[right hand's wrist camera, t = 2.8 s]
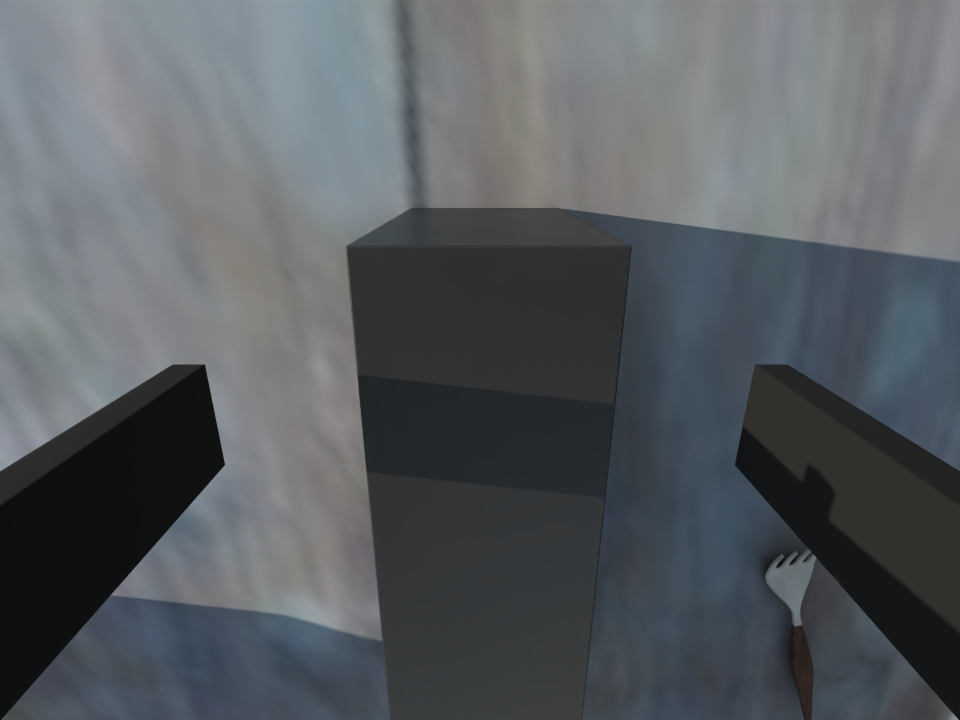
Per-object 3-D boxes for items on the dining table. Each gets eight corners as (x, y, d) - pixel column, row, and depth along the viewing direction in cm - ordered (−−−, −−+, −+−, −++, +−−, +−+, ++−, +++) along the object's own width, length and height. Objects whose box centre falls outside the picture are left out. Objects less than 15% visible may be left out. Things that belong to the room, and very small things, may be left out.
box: (410, 208, 22) (344, 245, 11) (560, 208, 22) (632, 246, 11) (431, 657, 31) (406, 902, 21) (536, 658, 31) (563, 904, 21)
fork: (782, 722, 33) (800, 756, 31) (757, 530, 27) (777, 557, 25) (824, 715, 32) (845, 748, 31) (807, 518, 27) (831, 545, 25)
